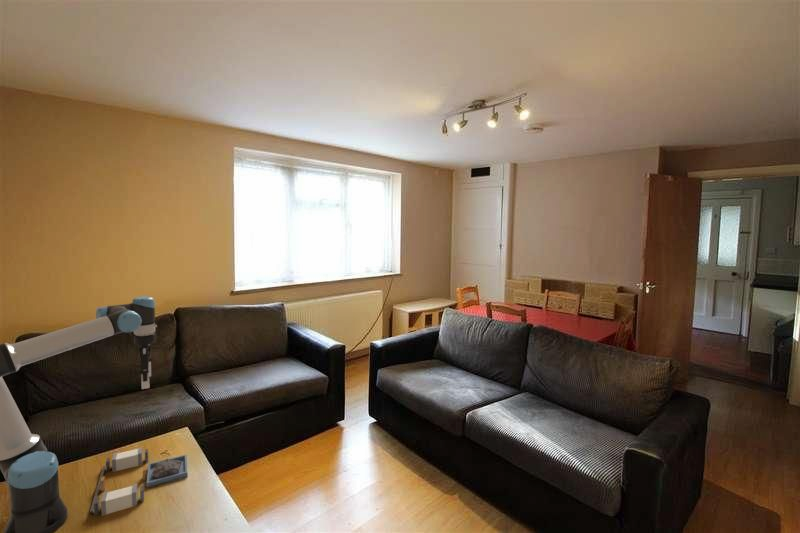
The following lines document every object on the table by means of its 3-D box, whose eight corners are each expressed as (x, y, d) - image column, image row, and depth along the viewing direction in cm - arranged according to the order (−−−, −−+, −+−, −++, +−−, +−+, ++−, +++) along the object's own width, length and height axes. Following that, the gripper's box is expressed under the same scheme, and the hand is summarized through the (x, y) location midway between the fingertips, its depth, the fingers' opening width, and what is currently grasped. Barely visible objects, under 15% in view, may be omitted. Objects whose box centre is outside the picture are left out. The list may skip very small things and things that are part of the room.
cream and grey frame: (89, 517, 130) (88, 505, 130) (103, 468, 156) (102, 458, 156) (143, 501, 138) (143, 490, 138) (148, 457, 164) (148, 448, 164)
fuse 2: (101, 516, 131) (100, 501, 130) (104, 506, 136) (103, 492, 135) (136, 505, 136) (135, 492, 136) (137, 496, 141) (137, 483, 140)
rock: (182, 473, 154) (182, 464, 153) (151, 483, 147) (150, 473, 147) (180, 462, 161) (180, 453, 160) (150, 471, 155) (150, 461, 154)
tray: (146, 488, 145) (146, 483, 145) (148, 468, 157) (148, 463, 157) (187, 476, 152) (187, 472, 152) (186, 458, 164) (186, 454, 164)
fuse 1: (112, 472, 154) (111, 459, 153) (114, 465, 159) (113, 453, 158) (141, 465, 159) (141, 453, 159) (142, 458, 164) (142, 446, 163)
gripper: (154, 340, 149) (155, 391, 151) (156, 325, 170) (158, 370, 172) (131, 342, 145) (133, 395, 147) (136, 327, 166) (138, 373, 168)
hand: (146, 382), depth 160 cm, fingers open, 13 cm apart
